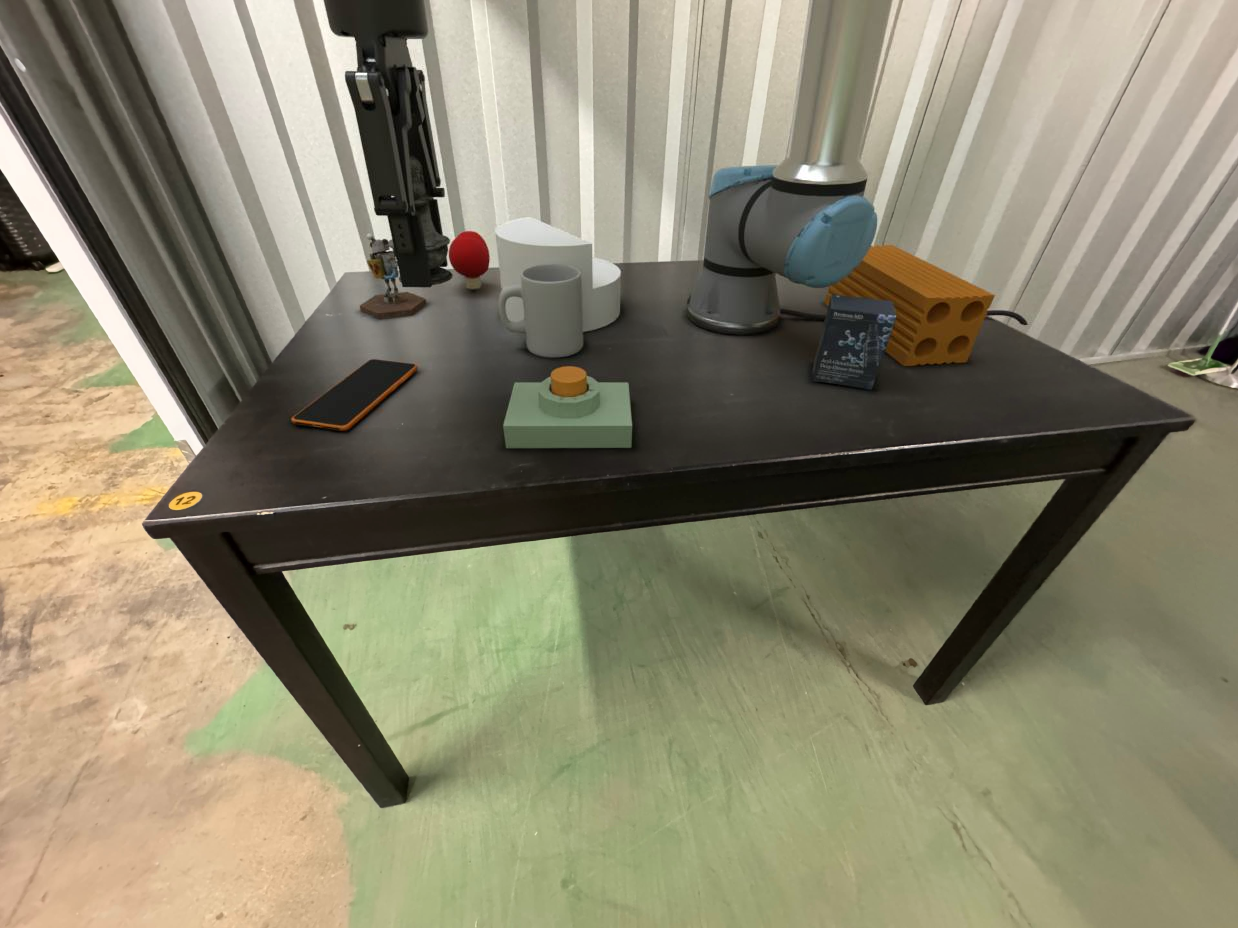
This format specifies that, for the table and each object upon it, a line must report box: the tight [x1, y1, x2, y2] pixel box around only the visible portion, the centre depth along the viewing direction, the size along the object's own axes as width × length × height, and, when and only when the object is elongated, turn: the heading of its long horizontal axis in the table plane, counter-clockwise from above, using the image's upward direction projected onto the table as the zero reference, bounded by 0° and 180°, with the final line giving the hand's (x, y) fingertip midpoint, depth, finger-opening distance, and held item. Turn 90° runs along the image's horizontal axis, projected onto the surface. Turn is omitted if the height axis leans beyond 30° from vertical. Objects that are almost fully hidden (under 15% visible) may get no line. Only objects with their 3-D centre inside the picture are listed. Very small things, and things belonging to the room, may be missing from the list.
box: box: [812, 294, 896, 391], centre depth 73 cm, size 8×6×11 cm
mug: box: [498, 264, 584, 359], centre depth 80 cm, size 12×8×11 cm
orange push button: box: [550, 365, 588, 397], centre depth 62 cm, size 4×4×2 cm
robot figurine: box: [359, 233, 427, 320], centre depth 91 cm, size 11×9×12 cm
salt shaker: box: [388, 155, 454, 286], centre depth 53 cm, size 6×6×12 cm
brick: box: [824, 244, 996, 367], centre depth 87 cm, size 26×10×10 cm, turn 9°
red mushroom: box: [448, 230, 491, 292], centre depth 100 cm, size 9×7×10 cm
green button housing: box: [502, 375, 633, 449], centre depth 64 cm, size 14×10×5 cm
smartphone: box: [290, 358, 419, 431], centre depth 70 cm, size 8×17×1 cm, turn 167°
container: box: [494, 216, 622, 333], centre depth 91 cm, size 20×20×13 cm
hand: (426, 275), depth 56 cm, fingers closed on salt shaker, 6 cm apart
